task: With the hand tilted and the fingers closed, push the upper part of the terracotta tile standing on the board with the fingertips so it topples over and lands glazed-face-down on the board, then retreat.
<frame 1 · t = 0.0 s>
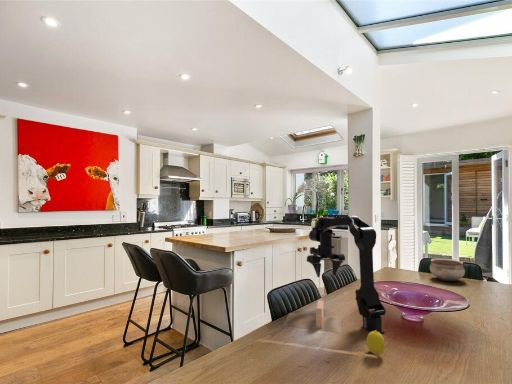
hand: (326, 276, 139), 15 cm above the table, tool pointing down, fingers open, 9 cm apart
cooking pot: (447, 280, 187), on the table
board: (312, 323, 120), on the table
tile: (320, 322, 119), point 1 cm above the table, touching board
lemon: (375, 356, 95), on the table
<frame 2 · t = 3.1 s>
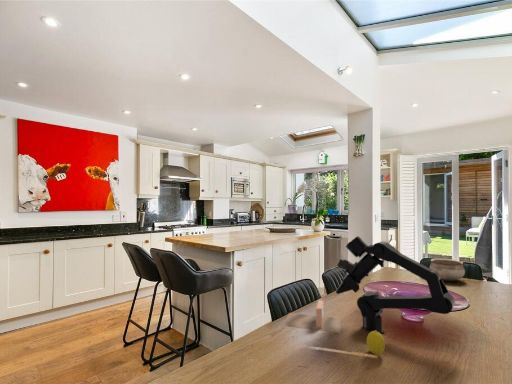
hand: (336, 292, 118), 13 cm above the table, tool tilted 45°, fingers closed
nothing on the table moved.
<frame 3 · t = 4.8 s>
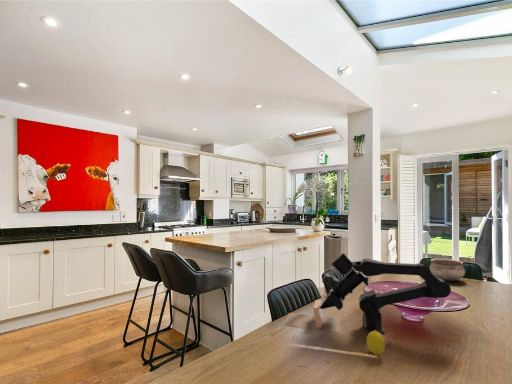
hand: (320, 308, 119), 7 cm above the table, tool tilted 45°, fingers closed
tile: (320, 322, 119), point 1 cm above the table, tilted 9°, touching board, gripper
everything else where it was.
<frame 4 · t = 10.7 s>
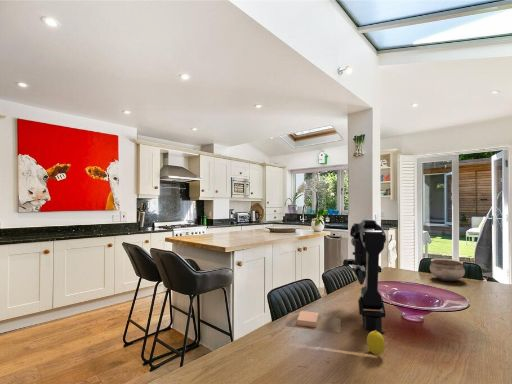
hand: (361, 284, 135), 12 cm above the table, tool pointing down, fingers closed
tile: (317, 319, 119), point 2 cm above the table, tilted 90°, touching board
everything else where it was.
at the end: tile tilted 90°; tile inside the target area (3.5 cm from its centre), point 1.9 cm above the table; tile point 1.9 cm above the table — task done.
